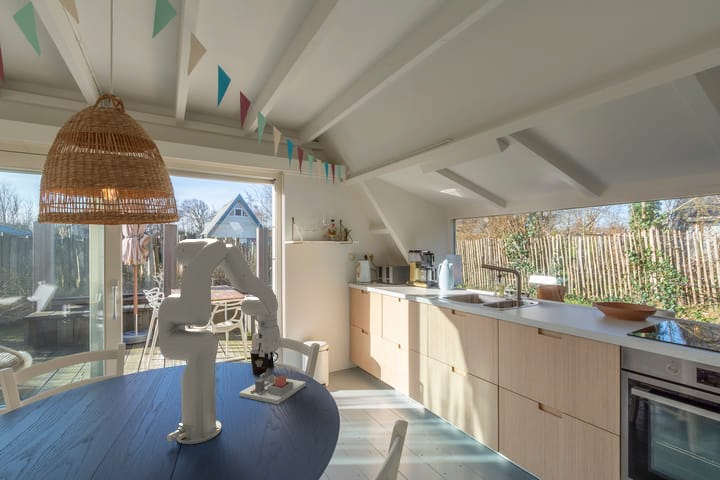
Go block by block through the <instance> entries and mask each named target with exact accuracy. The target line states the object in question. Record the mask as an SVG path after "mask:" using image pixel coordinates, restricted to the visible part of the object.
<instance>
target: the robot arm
mask: <svg viewBox="0 0 720 480" xmlns="http://www.w3.org/2000/svg"><path fill="white" fill-rule="evenodd" d="M173 256H174V259H175V261H176V262H177V263H178V264H180V265H182V266H186V267H185V268H184V269H183V271H182V273H181V276H180V285H179V288H180V289H179V290H180V294H179V293H173V294H170V295H167V296H166V297H165V298H163V300H162V301H161V303H160V304H159V307H158V312H157V331H158V348H159V350H160V351H159V352H160V354H161V355H162V357H164V358H165V359H168V360H172V361H181V362H182V361H184V362H187V364H186V367H185V368H184V370H183V372H182V374H181V378H180V388H181V389H180V390H181V391H180V392H181V393H180V394H181V422H180V423H179V424H178V428H177V429H176V430H175V431H173V432H171V433H169V434H168V435H166V440H167V442H172V441H174V440H176V441H177V442H178V443H180V444H183V445H195V444H201V443H204V442H207V441H209V440H212V439H213V438H215V437H217V436H218V434H220V433H221V431H222V422H220V421H219V420H217V408H216V407H217V403H216V402H217V401H216V399H217V397H216V395H217V394H216V361H217V354H218V349H219V340H218V339H219V338H218V336H217V335H216V334H215V333H214V332H213V331H210V330H208V329H201V328H186V326H187V327H193V326H194V327H199V326H204V325H206V324H208V323H209V322H210V320H211V317H212V312H213V311H212V288H211V287H212V276H213V274H214V272H215V270H216V269H221V270H222V271H223V273H224V275H225V276H226V278H227V280H228V282H229V283H230V286H231V287H233V288H234V289H236V290H237V291H240V292H242V293H246V294H249V295H252V296H247V297H245V298H244V299H243V300H242V301H241V304H240V310H241V312H242V313H243V314H245V315H247V316H251V317H253V316H255V317H256V316H257V317H258V325H257V326H258V329H257V338H256V348H257V350H258V352H259V357H264V358H265V367H266V368H272V367H274V363H275V362H274V361H275V360H274V358H275V355H276V354H275V352H276V351H278V350H279V349H280V348H281V346H282V342H281V341H282V340H281V332H280V326H279V324H278V309H279V302H278V299H277V295H276V294H275V292H274V289H272V287H271V286H270V285H269V284H268V283H267V282H266V281H264V280H262V279H261V278H259V277H258V276H256V275H255V274H254V273H253V271H252V270H251V268H250V266H249V263H248V261H247V260H246V257H245V256H244V254H243V253H242V250H241V249H240V247H239V246H237V245H235V244H231V243H227V244H226V243H225V242H224V241H223V240H220V239H217V238H201V239H184V240H181V241H179V242H178V243H177V244H176V245H175V246H174V250H173Z"/></svg>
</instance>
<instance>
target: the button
mask: <svg viewBox="0 0 720 480" xmlns="http://www.w3.org/2000/svg"><path fill="white" fill-rule="evenodd" d="M274 377H275V379H274V380H275V387H279V388H283V387H284V386H286V379H287V376H285V375H279V376H278V375H277V376H274Z"/></svg>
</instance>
